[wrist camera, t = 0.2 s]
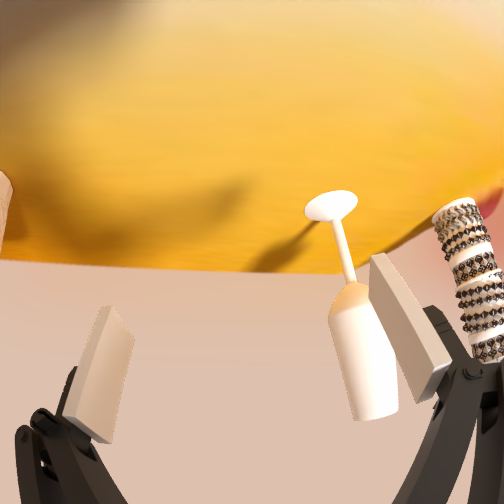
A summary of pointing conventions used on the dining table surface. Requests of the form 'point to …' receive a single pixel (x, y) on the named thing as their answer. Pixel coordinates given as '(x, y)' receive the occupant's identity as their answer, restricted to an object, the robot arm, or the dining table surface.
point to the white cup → (4, 203)
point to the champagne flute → (357, 324)
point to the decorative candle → (474, 276)
